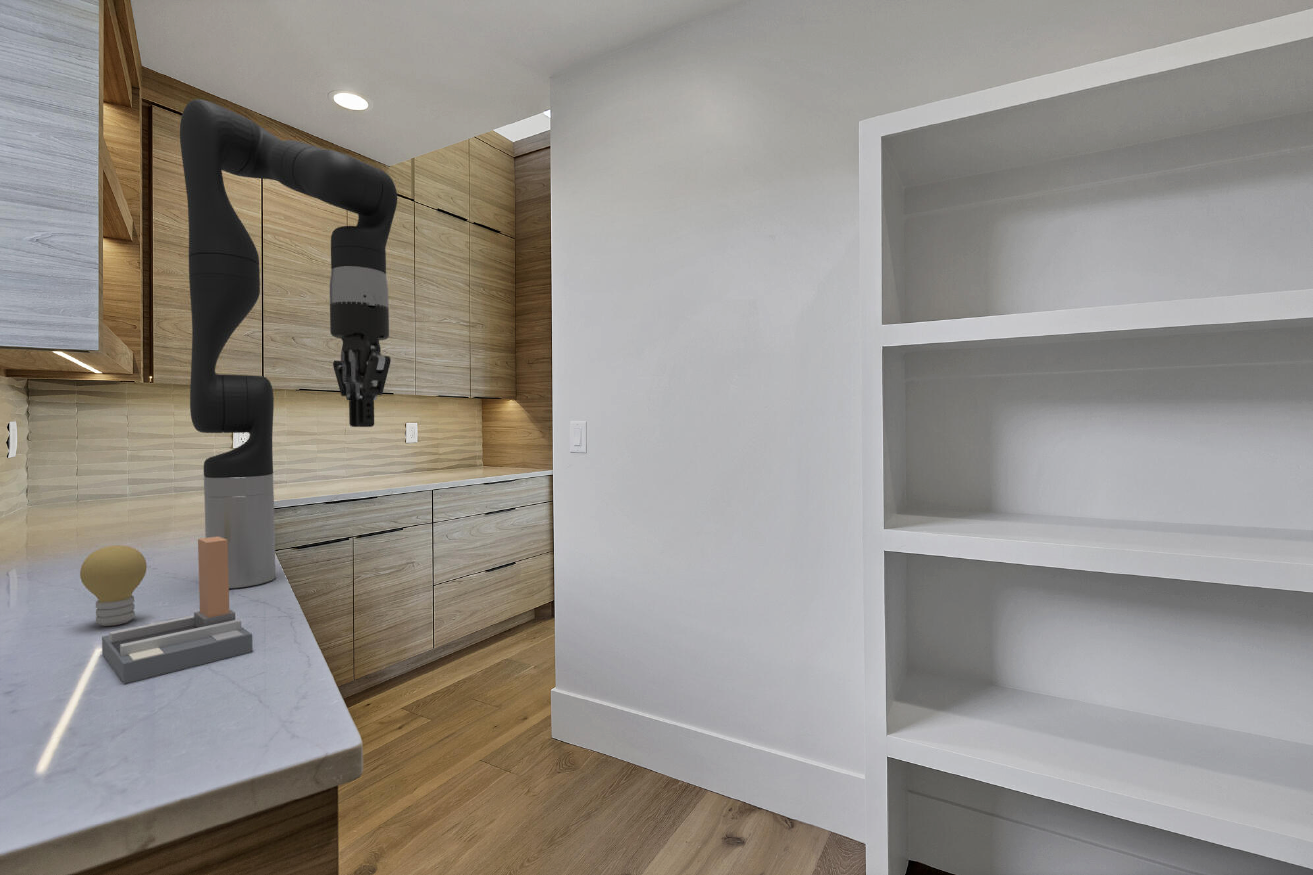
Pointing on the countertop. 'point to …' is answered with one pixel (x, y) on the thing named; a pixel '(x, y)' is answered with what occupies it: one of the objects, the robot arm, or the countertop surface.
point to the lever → (213, 582)
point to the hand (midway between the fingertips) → (362, 426)
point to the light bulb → (113, 582)
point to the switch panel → (172, 647)
